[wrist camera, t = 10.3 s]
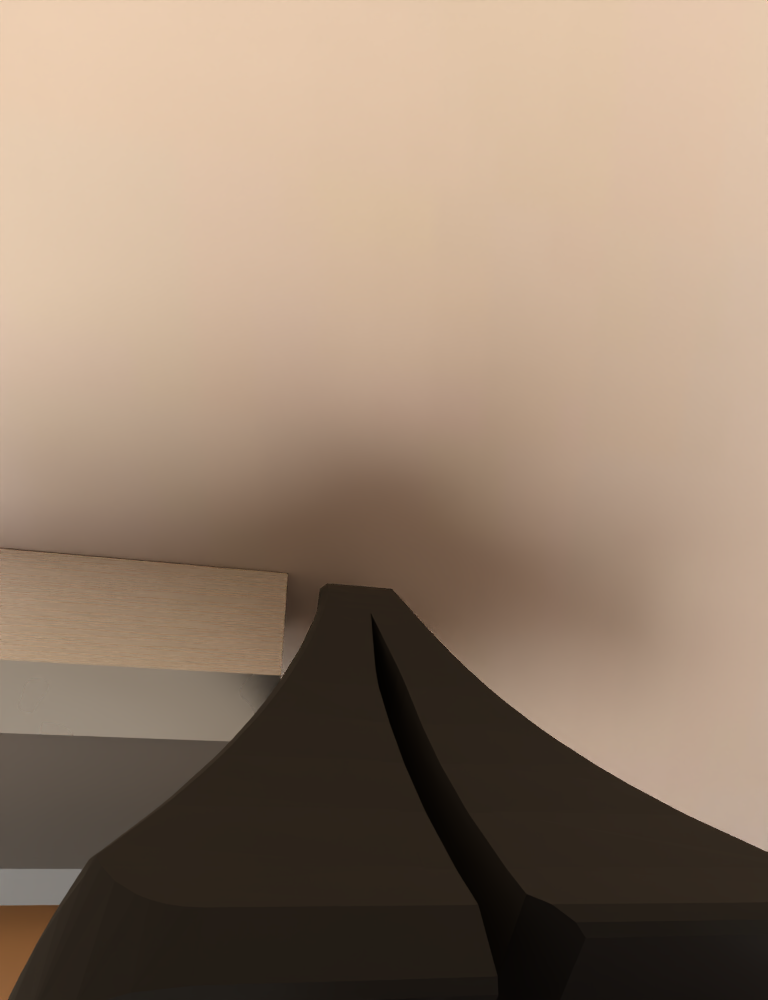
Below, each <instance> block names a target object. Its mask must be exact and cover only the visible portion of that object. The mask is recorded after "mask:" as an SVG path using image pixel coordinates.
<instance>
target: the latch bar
mask: <svg viewBox="0 0 768 1000" xmlns="http://www.w3.org/2000/svg"><path fill="white" fill-rule="evenodd" d="M287 578H288V573H278V572H266V571H255V570H243V569H231V568H220V567H208V566H197V565H185V564H173V563H162V562H150V561H138V560H127V559H115V558H104V557H92V556H80V555H69V554H57V553H45V552H34V551H22V550H11V549H0V733H17V734H44V735H71V736H98V737H125V738H151V739H178V740H205V741H231V740H232V739H233V738H234V737H235V735H236V734H237V733H238V732H239V731H240V730H241V729H242V728H243V726H244V725H245V724H246V723H247V722H248V721H249V720H250V719H251V717H252V716H253V715H254V714H255V713H256V712H257V710H258V709H259V708H260V707H261V705H262V704H263V703H264V701H265V700H266V699H267V698H268V696H269V695H270V694H271V692H272V691H273V690H274V688H275V687H276V685H277V684H278V683H279V681H280V678H281V665H282V650H283V636H284V621H285V607H286V592H287Z"/></svg>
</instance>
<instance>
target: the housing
mask: <svg viewBox="0 0 768 1000" xmlns="http://www.w3.org/2000/svg"><path fill="white" fill-rule="evenodd" d="M229 742H230V741H205V740H178V739H151V738H125V737H98V736H71V735H44V734H17V733H0V906H1V905H60V903H61V902H62V900H63V898H64V897H65V895H66V894H67V892H68V891H69V889H70V888H71V886H72V884H73V883H74V881H75V880H76V878H77V877H78V875H79V874H80V872H81V871H82V869H83V868H84V866H85V865H86V863H87V862H88V860H89V859H90V858H91V857H92V856H94V855H95V854H97V853H98V852H99V851H101V850H102V849H104V848H105V847H106V846H108V845H109V844H110V843H111V842H113V841H114V840H115V839H117V838H118V837H119V836H121V835H122V834H123V833H125V832H126V831H127V830H129V829H130V828H131V827H133V826H134V825H135V824H137V823H138V822H139V821H141V820H142V819H143V818H145V817H146V816H147V815H149V814H150V813H151V812H153V811H154V810H155V809H156V808H158V807H159V806H160V805H161V804H163V803H164V802H165V801H166V800H167V799H169V798H170V797H171V796H172V795H173V794H175V793H176V792H177V791H178V790H179V789H180V788H181V787H182V786H183V785H184V784H186V783H187V782H188V781H189V780H190V779H191V778H192V777H193V776H194V775H195V774H197V773H198V772H199V771H200V770H201V769H202V768H203V767H204V766H205V765H206V764H208V763H209V762H210V761H211V760H212V759H213V758H214V757H215V756H216V755H217V754H218V753H219V752H220V751H221V750H222V749H223V748H224V747H225V746H226V745H227V744H228V743H229Z"/></svg>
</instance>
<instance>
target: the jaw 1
mask: <svg viewBox="0 0 768 1000" xmlns="http://www.w3.org/2000/svg"><path fill="white" fill-rule="evenodd" d="M58 906H59V905H1V906H0V1000H8V998H9V996H10V994H11V992H12V990H13V988H14V986H15V984H16V982H17V980H18V978H19V976H20V974H21V972H22V970H23V968H24V967H25V965H26V963H27V961H28V959H29V957H30V955H31V953H32V951H33V950H34V948H35V946H36V944H37V942H38V940H39V938H40V937H41V935H42V933H43V932H44V930H45V928H46V926H47V925H48V923H49V921H50V920H51V918H52V916H53V915H54V913H55V911H56V910H57V908H58Z"/></svg>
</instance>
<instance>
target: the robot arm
mask: <svg viewBox="0 0 768 1000" xmlns="http://www.w3.org/2000/svg"><path fill="white" fill-rule="evenodd" d="M8 1000H768V852H766V851H764V850H762V849H759V848H757V847H755V846H753V845H751V844H749V843H746V842H744V841H742V840H740V839H738V838H736V837H733V836H731V835H729V834H727V833H725V832H723V831H720V830H718V829H716V828H714V827H712V826H710V825H707V824H705V823H703V822H701V821H699V820H697V819H694V818H692V817H690V816H688V815H686V814H684V813H682V812H680V811H678V810H676V809H674V808H672V807H670V806H668V805H666V804H665V803H663V802H661V801H659V800H657V799H655V798H653V797H652V796H650V795H648V794H646V793H644V792H642V791H640V790H639V789H637V788H635V787H633V786H631V785H629V784H627V783H626V782H624V781H622V780H621V779H619V778H617V777H615V776H614V775H612V774H610V773H609V772H607V771H605V770H603V769H602V768H600V767H598V766H597V765H595V764H593V763H592V762H590V761H589V760H587V759H586V758H584V757H583V756H581V755H579V754H578V753H576V752H575V751H573V750H572V749H570V748H569V747H567V746H565V745H564V744H562V743H561V742H559V741H558V740H556V739H555V738H553V737H552V736H550V735H549V734H548V733H546V732H545V731H543V730H542V729H540V728H539V727H538V726H536V725H535V724H534V723H532V722H531V721H530V720H528V719H527V718H526V717H524V716H523V715H522V714H520V713H519V712H518V711H517V710H515V709H514V708H513V707H511V706H510V705H509V704H507V703H506V702H505V701H504V700H502V699H501V698H500V697H499V696H498V695H496V694H495V693H494V692H493V691H491V690H490V689H489V688H488V687H487V686H486V685H485V684H484V683H482V682H481V681H480V680H479V679H478V678H477V677H476V676H475V675H474V674H473V673H471V672H470V671H469V670H468V669H467V668H466V667H465V666H464V665H463V664H462V663H461V662H460V661H459V660H458V659H457V658H456V657H455V656H454V655H453V654H451V653H450V652H449V650H448V649H447V648H446V647H445V646H444V645H443V644H442V643H441V642H440V641H439V640H438V639H437V638H436V637H435V636H434V635H433V634H432V633H431V632H430V631H429V630H428V628H427V627H426V626H425V625H424V624H423V623H422V622H421V621H420V620H419V619H418V617H417V616H416V615H415V614H414V613H413V612H412V611H411V610H410V609H409V607H408V606H407V605H406V604H405V603H404V602H403V601H402V600H401V598H400V597H399V596H398V595H397V594H396V593H395V592H394V591H393V590H392V589H385V588H373V587H362V586H350V585H338V584H326V585H325V586H323V587H322V588H321V589H320V593H319V600H318V607H317V613H316V615H315V618H314V621H313V623H312V625H311V627H310V629H309V631H308V633H307V635H306V638H305V640H304V642H303V644H302V646H301V647H300V649H299V651H298V652H297V654H296V656H295V657H294V659H293V661H292V662H291V664H290V666H289V667H288V669H287V670H286V672H285V674H284V675H283V677H282V678H281V680H280V681H279V683H278V684H277V685H276V687H275V688H274V690H273V691H272V692H271V694H270V695H269V696H268V698H267V699H266V700H265V701H264V703H263V704H262V705H261V707H260V708H259V709H258V710H257V712H256V713H255V714H254V715H253V716H252V717H251V719H250V720H249V721H248V722H247V723H246V724H245V725H244V726H243V728H242V729H241V730H240V731H239V732H238V733H237V734H236V735H235V737H234V738H233V739H232V740H231V741H230V742H229V743H228V744H227V745H226V746H225V747H224V748H223V749H222V750H221V751H220V752H219V753H218V754H217V755H216V756H215V757H214V758H213V759H212V760H211V761H210V762H209V763H208V764H206V765H205V766H204V767H203V768H202V769H201V770H200V771H199V772H198V773H197V774H195V775H194V776H193V777H192V778H191V779H190V780H189V781H188V782H187V783H186V784H184V785H183V786H182V787H181V788H180V789H179V790H178V791H177V792H176V793H175V794H173V795H172V796H171V797H170V798H169V799H167V800H166V801H165V802H164V803H163V804H161V805H160V806H159V807H158V808H156V809H155V810H154V811H153V812H151V813H150V814H149V815H147V816H146V817H145V818H143V819H142V820H141V821H139V822H138V823H137V824H135V825H134V826H133V827H131V828H130V829H129V830H127V831H126V832H125V833H123V834H122V835H121V836H119V837H118V838H117V839H115V840H114V841H113V842H111V843H110V844H109V845H108V846H106V847H105V848H104V849H102V850H101V851H99V852H98V853H97V854H95V855H94V856H92V857H91V858H90V859H89V860H88V862H87V863H86V865H85V866H84V868H83V869H82V871H81V872H80V874H79V875H78V877H77V878H76V880H75V881H74V883H73V884H72V886H71V888H70V889H69V891H68V892H67V894H66V895H65V897H64V898H63V900H62V902H61V903H60V905H59V906H58V908H57V910H56V911H55V913H54V915H53V916H52V918H51V920H50V921H49V923H48V925H47V926H46V928H45V930H44V932H43V933H42V935H41V937H40V938H39V940H38V942H37V944H36V946H35V948H34V950H33V951H32V953H31V955H30V957H29V959H28V961H27V963H26V965H25V967H24V968H23V970H22V972H21V974H20V976H19V978H18V980H17V982H16V984H15V986H14V988H13V990H12V992H11V994H10V996H9V998H8Z"/></svg>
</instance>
